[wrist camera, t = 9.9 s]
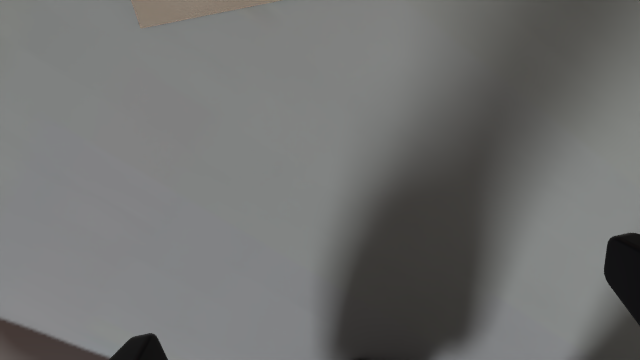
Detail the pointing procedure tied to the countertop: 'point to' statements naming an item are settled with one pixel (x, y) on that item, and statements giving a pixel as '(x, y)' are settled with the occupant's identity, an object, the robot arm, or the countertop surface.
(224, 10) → the cream flat square slab
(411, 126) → the countertop surface
